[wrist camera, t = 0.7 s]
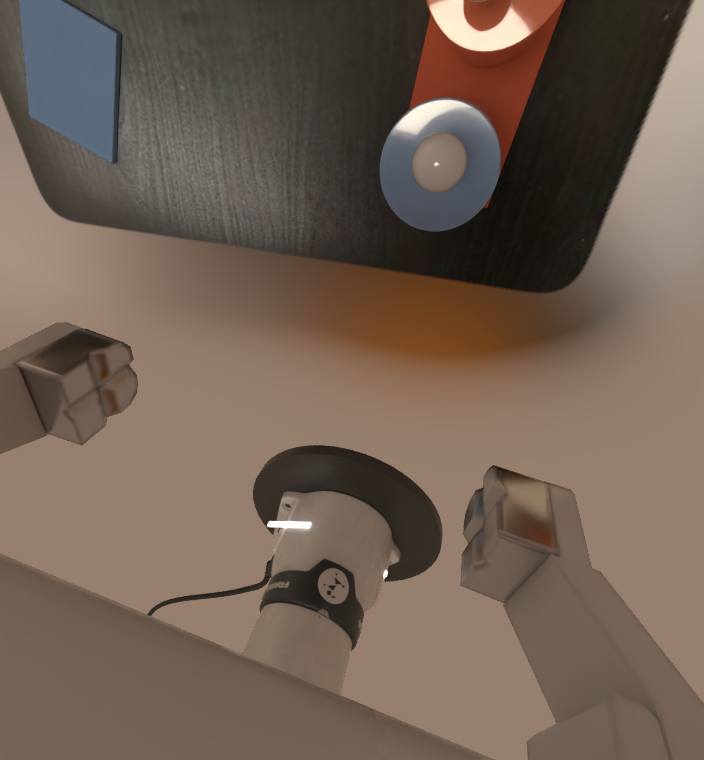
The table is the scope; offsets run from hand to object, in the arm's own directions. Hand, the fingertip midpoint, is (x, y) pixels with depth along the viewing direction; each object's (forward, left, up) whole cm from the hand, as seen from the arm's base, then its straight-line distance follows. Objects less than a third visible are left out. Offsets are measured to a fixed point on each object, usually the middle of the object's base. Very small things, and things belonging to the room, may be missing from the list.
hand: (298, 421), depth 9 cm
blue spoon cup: (+3, 0, -25) cm, 25 cm away
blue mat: (-6, +28, -25) cm, 38 cm away
